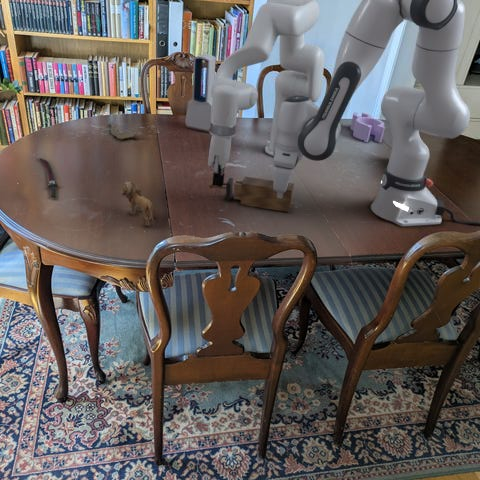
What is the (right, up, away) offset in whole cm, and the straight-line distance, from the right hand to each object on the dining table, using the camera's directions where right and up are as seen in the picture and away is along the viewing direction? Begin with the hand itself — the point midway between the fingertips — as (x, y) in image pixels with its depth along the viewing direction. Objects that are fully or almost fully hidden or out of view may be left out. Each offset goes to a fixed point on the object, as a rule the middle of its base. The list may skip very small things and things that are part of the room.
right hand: (281, 192), depth 146 cm
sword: (-75, +5, +5) cm, 76 cm away
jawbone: (-60, +29, +45) cm, 81 cm away
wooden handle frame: (-13, -1, +4) cm, 13 cm away
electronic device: (-30, +34, +57) cm, 72 cm away
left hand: (-20, +3, +3) cm, 20 cm away
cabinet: (-5, -3, +3) cm, 7 cm away
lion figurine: (-42, -8, -10) cm, 44 cm away
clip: (+45, +34, +70) cm, 90 cm away
